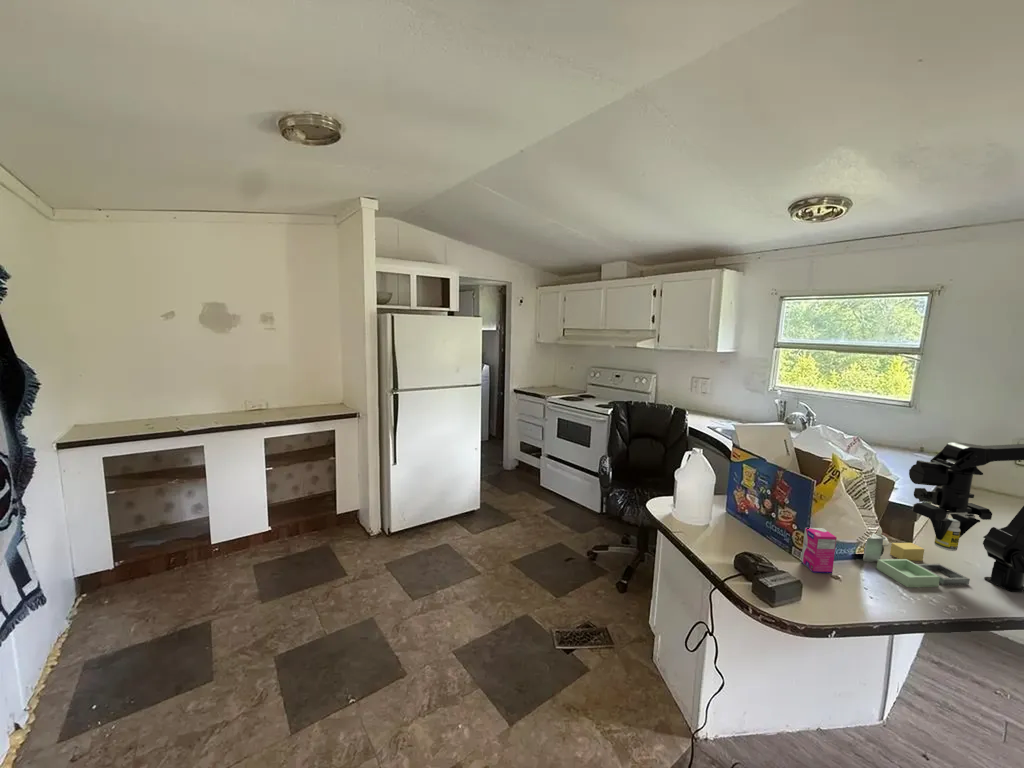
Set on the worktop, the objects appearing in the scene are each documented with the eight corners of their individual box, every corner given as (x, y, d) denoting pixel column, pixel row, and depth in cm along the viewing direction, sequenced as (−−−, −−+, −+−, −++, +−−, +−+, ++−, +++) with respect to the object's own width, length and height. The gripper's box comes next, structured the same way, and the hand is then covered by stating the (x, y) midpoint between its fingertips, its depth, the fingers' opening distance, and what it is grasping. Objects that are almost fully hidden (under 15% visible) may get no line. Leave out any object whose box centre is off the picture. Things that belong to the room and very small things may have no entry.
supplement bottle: (952, 552, 121) (957, 524, 120) (930, 545, 125) (935, 517, 124) (960, 549, 123) (965, 522, 122) (939, 542, 127) (943, 515, 126)
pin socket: (938, 569, 130) (939, 563, 129) (968, 584, 122) (969, 579, 121) (913, 569, 129) (914, 563, 129) (943, 585, 121) (944, 579, 121)
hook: (842, 515, 154) (863, 507, 153) (864, 547, 151) (885, 539, 149) (850, 519, 148) (871, 510, 146) (873, 552, 144) (895, 544, 142)
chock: (909, 554, 138) (911, 542, 138) (922, 561, 134) (924, 549, 134) (889, 554, 138) (891, 542, 137) (902, 561, 134) (904, 549, 133)
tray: (905, 568, 129) (906, 559, 129) (938, 586, 120) (940, 576, 120) (876, 568, 128) (877, 559, 128) (907, 587, 119) (909, 577, 119)
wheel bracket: (872, 553, 138) (876, 527, 136) (885, 561, 133) (890, 534, 132) (851, 553, 137) (855, 527, 136) (864, 561, 132) (868, 534, 131)
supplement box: (799, 562, 130) (804, 526, 129) (819, 563, 130) (824, 527, 129) (812, 573, 125) (817, 536, 123) (833, 574, 125) (838, 537, 123)
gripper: (954, 477, 131) (945, 526, 133) (898, 477, 129) (890, 526, 131) (998, 491, 120) (988, 544, 121) (937, 491, 118) (928, 544, 120)
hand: (947, 539), depth 124 cm, fingers closed on supplement bottle, 5 cm apart
